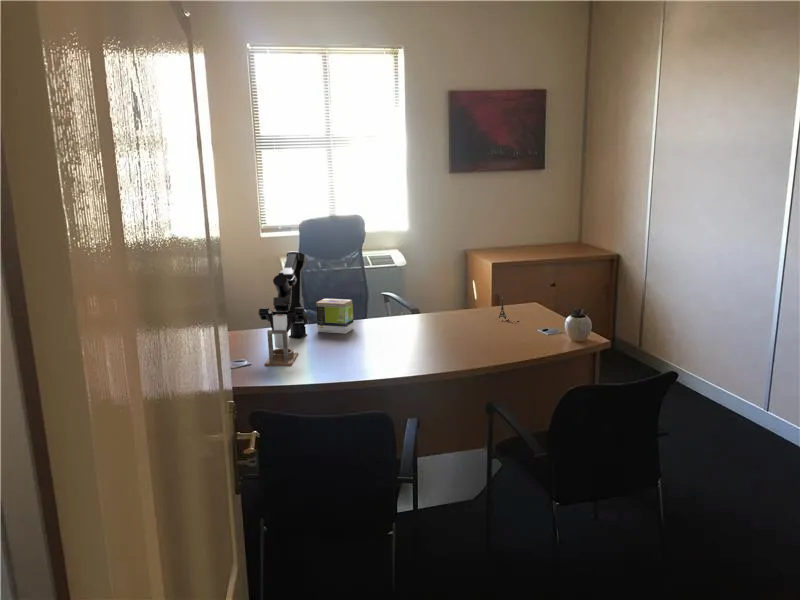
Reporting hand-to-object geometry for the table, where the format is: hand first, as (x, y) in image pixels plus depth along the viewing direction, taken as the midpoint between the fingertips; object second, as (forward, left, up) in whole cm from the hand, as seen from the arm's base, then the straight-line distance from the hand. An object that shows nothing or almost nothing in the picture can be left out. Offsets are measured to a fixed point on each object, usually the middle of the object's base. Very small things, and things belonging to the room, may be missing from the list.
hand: (280, 331), depth 255 cm
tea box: (-6, +47, -13) cm, 49 cm away
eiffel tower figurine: (+58, +100, -13) cm, 116 cm away
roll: (-1, +1, -7) cm, 7 cm away
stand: (-1, +1, -12) cm, 12 cm away
